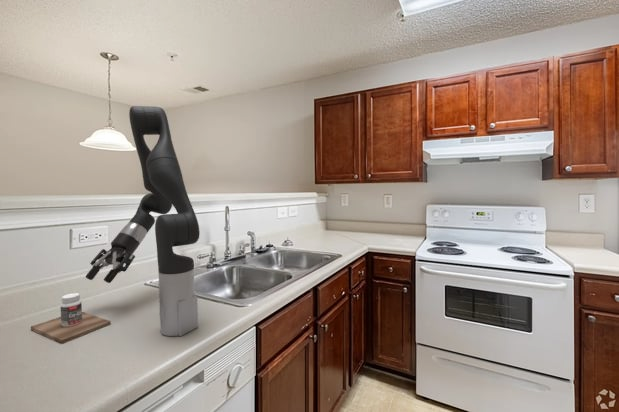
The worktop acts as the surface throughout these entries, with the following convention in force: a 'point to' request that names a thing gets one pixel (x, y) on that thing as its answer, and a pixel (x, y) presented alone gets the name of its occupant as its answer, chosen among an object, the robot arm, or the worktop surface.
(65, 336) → the walnut board
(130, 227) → the robot arm
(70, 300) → the pill bottle
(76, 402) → the worktop surface
